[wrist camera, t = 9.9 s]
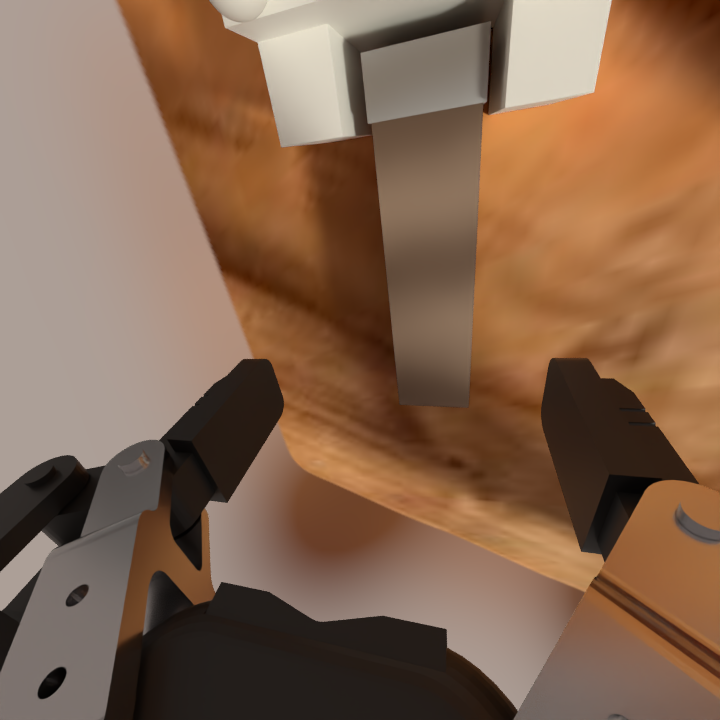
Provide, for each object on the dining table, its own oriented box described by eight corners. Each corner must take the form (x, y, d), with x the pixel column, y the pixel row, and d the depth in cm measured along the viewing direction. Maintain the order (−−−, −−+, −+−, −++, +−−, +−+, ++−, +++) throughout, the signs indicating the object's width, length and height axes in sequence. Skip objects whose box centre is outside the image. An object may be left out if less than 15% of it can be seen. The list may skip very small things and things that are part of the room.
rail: (467, 359, 23) (470, 410, 19) (406, 359, 24) (397, 406, 20) (479, 52, 14) (491, 21, 10) (384, 73, 16) (360, 52, 11)
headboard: (547, 104, 15) (649, 76, 7) (327, 142, 18) (233, 152, 10) (568, -51, 12) (758, -344, 5) (308, 22, 15) (162, -90, 7)
